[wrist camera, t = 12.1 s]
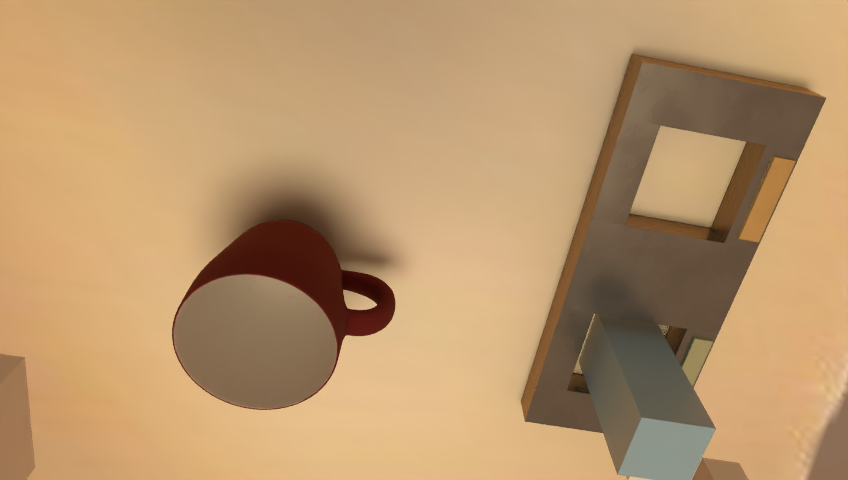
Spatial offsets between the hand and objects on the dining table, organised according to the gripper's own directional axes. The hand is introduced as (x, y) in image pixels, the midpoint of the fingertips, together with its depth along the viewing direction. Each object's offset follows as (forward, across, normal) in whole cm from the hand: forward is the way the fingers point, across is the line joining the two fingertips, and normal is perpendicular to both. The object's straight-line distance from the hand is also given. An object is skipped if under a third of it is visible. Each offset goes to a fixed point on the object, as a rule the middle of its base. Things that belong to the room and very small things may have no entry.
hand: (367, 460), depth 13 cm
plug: (+27, +16, -13) cm, 34 cm away
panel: (+27, +16, -7) cm, 32 cm away
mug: (+27, -4, -10) cm, 29 cm away
